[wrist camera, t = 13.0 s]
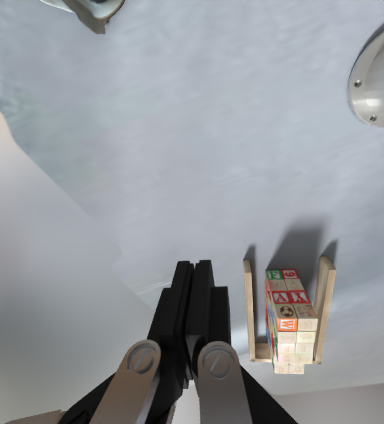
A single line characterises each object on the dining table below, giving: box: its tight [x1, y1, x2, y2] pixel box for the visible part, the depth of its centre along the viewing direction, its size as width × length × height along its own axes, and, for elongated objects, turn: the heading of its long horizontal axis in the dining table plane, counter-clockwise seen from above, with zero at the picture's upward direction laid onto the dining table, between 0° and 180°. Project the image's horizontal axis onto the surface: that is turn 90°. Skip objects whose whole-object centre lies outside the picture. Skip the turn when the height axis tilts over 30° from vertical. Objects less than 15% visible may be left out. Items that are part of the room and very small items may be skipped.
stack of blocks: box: [265, 269, 318, 374], centre depth 45 cm, size 21×6×12 cm, turn 9°
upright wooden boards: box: [243, 256, 336, 364], centre depth 48 cm, size 16×29×4 cm, turn 9°
